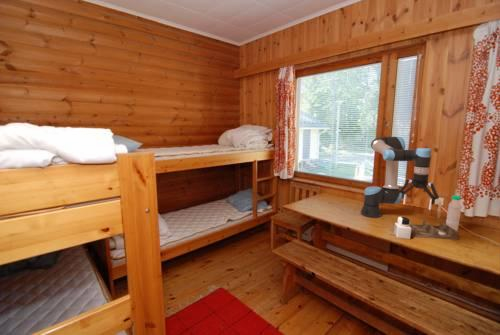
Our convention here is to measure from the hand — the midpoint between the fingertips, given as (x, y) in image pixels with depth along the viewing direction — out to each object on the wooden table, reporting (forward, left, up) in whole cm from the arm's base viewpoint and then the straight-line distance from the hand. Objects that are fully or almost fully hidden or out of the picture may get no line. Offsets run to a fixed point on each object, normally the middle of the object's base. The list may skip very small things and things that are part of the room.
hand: (416, 206), depth 151 cm
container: (-7, -4, -24) cm, 25 cm away
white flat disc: (-13, +22, -23) cm, 34 cm away
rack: (-13, +16, -24) cm, 32 cm away
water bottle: (-22, +35, -24) cm, 48 cm away
